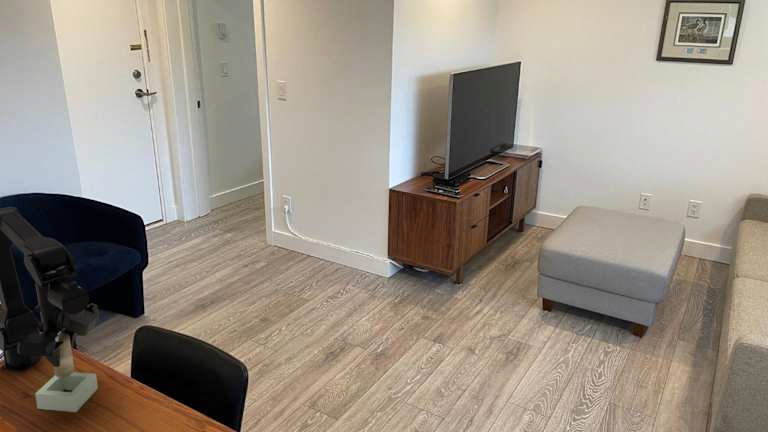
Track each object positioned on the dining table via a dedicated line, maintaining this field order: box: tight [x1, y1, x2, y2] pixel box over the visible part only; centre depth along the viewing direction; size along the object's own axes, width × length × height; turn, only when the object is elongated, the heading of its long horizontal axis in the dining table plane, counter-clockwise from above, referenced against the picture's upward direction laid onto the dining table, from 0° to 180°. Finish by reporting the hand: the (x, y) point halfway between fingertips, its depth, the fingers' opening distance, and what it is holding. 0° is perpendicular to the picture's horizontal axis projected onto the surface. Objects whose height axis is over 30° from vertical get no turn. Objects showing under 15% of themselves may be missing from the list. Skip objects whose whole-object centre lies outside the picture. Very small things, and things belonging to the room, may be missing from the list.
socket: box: [34, 371, 99, 413], centre depth 134 cm, size 9×9×4 cm
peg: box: [52, 333, 76, 378], centre depth 131 cm, size 4×4×9 cm
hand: (62, 361), depth 132 cm, fingers closed on peg, 4 cm apart
